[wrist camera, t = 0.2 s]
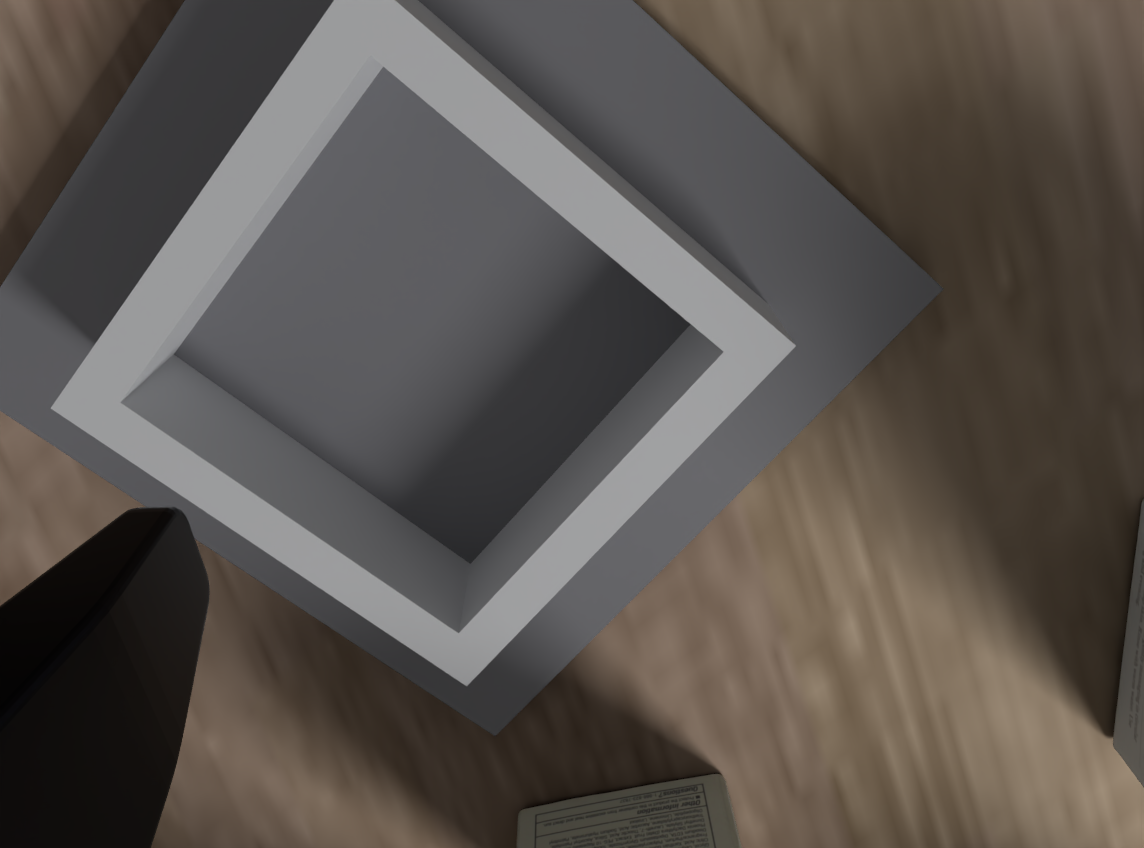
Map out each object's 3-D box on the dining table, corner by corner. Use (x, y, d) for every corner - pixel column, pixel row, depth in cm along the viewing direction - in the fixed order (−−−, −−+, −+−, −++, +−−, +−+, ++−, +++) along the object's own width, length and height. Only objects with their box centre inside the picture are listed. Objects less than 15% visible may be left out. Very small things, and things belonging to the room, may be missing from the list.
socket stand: (497, 712, 28) (487, 819, 24) (-32, 359, 24) (-140, 424, 20) (929, 277, 24) (996, 328, 20) (362, -248, 20) (315, -306, 16)
